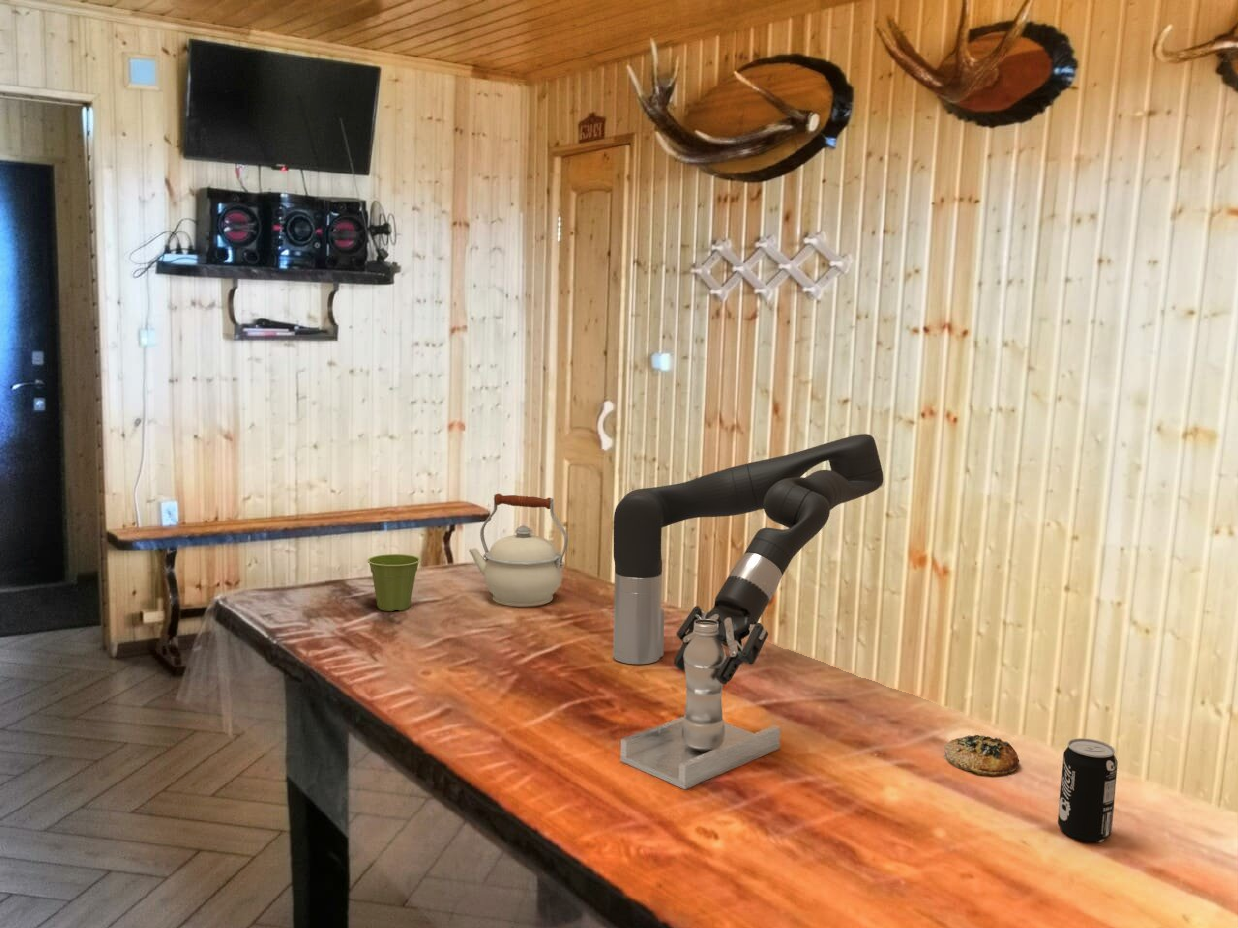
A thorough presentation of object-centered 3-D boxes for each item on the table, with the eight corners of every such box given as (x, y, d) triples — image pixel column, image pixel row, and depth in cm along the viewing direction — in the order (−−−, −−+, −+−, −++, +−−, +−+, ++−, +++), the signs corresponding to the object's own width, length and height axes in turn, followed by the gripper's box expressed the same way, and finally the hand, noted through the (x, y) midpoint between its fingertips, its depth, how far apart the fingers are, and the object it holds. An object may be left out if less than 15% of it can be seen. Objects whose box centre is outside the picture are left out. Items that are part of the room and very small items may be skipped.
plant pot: (415, 615, 239) (414, 565, 237) (362, 614, 239) (361, 564, 238) (425, 601, 251) (425, 554, 249) (374, 600, 251) (374, 552, 249)
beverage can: (1048, 821, 146) (1055, 737, 144) (1094, 820, 146) (1101, 736, 145) (1072, 845, 139) (1080, 757, 138) (1121, 844, 140) (1128, 756, 138)
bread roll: (1022, 755, 168) (1022, 726, 167) (1014, 791, 158) (1015, 761, 157) (948, 744, 173) (948, 716, 172) (937, 779, 163) (937, 749, 162)
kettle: (579, 594, 259) (581, 493, 256) (550, 614, 242) (551, 505, 238) (486, 584, 267) (486, 485, 264) (451, 602, 250) (451, 497, 246)
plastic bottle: (722, 757, 162) (727, 629, 160) (678, 753, 163) (681, 626, 161) (726, 741, 169) (730, 617, 166) (683, 737, 170) (686, 614, 167)
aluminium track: (715, 724, 178) (716, 704, 178) (779, 748, 169) (780, 727, 168) (620, 761, 163) (620, 738, 162) (684, 789, 153) (685, 766, 153)
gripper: (795, 611, 167) (745, 699, 160) (724, 593, 177) (675, 675, 170) (775, 583, 162) (723, 673, 156) (704, 566, 172) (653, 650, 166)
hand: (698, 674), depth 163 cm, fingers open, 8 cm apart
